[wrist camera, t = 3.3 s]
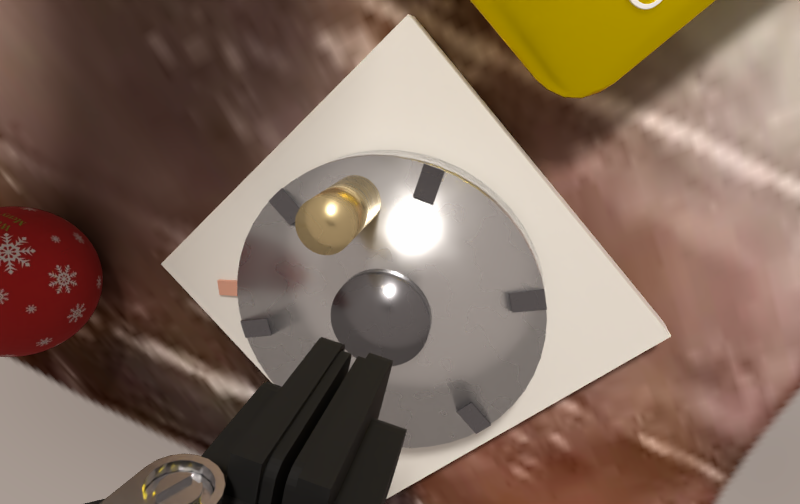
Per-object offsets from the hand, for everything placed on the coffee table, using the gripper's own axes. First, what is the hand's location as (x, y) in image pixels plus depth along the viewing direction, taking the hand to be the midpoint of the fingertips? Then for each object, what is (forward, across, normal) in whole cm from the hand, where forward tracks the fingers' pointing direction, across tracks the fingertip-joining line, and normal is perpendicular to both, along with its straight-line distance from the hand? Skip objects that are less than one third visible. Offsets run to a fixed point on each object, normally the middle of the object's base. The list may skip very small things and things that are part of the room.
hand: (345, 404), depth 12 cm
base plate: (+18, +2, +5) cm, 19 cm away
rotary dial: (+17, +2, +5) cm, 18 cm away
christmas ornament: (+19, +23, +10) cm, 31 cm away
